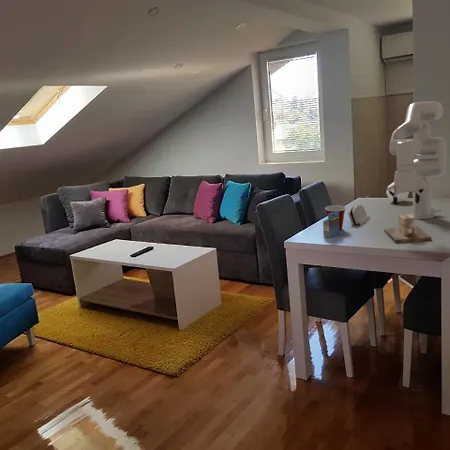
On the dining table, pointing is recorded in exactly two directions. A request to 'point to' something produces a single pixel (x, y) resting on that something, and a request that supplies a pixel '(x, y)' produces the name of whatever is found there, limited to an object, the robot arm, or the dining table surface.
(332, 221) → the label tape box
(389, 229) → the stub plate
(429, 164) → the robot arm
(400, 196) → the geodesic sphere
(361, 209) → the white rounded slab
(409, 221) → the maple block
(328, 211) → the plastic cup
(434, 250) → the dining table surface
